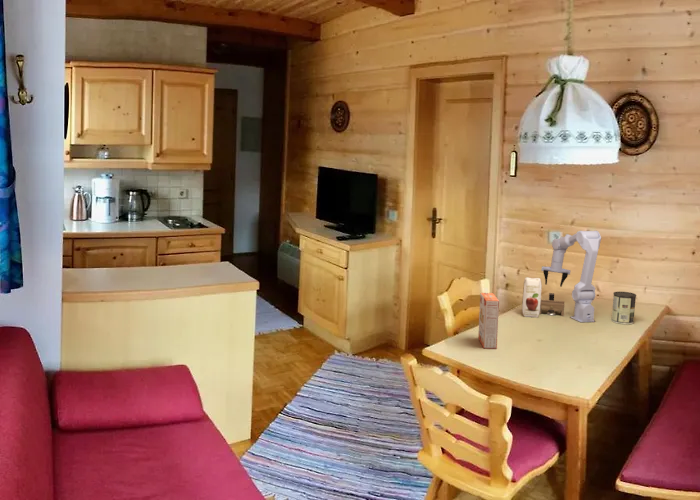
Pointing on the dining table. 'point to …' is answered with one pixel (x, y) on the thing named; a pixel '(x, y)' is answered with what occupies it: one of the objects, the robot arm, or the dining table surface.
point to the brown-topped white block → (551, 297)
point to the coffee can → (623, 307)
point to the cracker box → (488, 320)
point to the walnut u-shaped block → (552, 306)
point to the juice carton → (531, 297)
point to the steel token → (551, 314)
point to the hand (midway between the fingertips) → (553, 285)
